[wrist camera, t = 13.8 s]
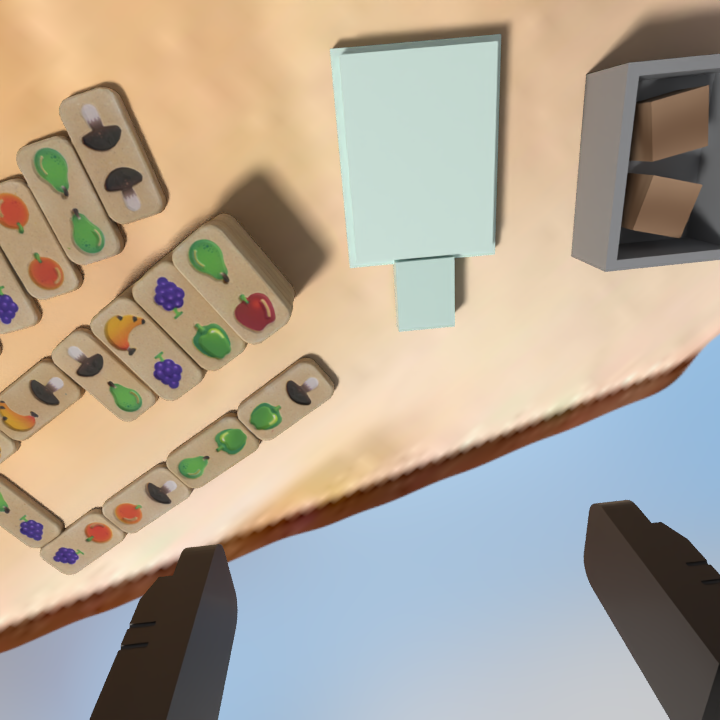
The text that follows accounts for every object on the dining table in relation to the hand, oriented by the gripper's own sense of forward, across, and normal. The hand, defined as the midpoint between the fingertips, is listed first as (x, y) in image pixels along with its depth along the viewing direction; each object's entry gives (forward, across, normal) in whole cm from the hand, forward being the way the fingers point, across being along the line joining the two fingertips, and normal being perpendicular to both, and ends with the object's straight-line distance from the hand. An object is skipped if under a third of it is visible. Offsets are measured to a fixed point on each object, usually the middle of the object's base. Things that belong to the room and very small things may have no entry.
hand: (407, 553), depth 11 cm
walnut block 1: (+28, -21, -8) cm, 35 cm away
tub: (+28, -21, -5) cm, 35 cm away
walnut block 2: (+28, -21, -2) cm, 35 cm away
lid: (+28, -5, -4) cm, 29 cm away
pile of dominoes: (+29, +22, +6) cm, 37 cm away
